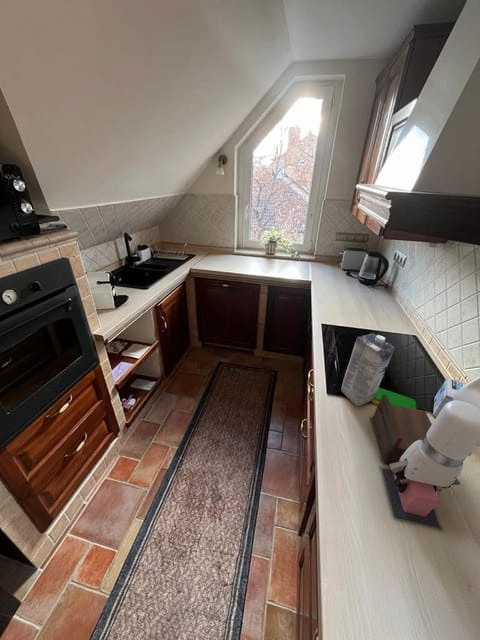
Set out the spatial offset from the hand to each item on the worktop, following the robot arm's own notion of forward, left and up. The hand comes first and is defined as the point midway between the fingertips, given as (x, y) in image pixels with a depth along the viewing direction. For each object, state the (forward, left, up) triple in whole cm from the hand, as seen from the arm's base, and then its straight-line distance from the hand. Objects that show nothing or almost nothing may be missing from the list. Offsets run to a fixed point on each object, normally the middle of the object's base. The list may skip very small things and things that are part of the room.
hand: (412, 489), depth 66 cm
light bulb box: (-23, -34, -3) cm, 41 cm away
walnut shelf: (-3, -16, -3) cm, 17 cm away
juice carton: (+8, -33, -3) cm, 34 cm away
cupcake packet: (0, 0, -3) cm, 3 cm away
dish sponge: (-5, -33, -3) cm, 34 cm away
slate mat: (0, 0, -3) cm, 3 cm away
